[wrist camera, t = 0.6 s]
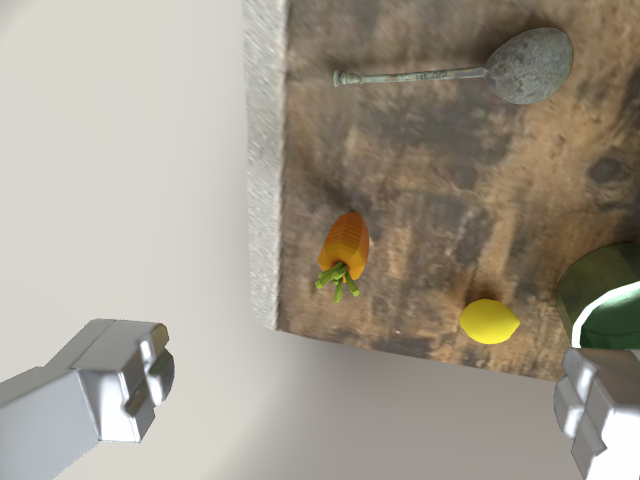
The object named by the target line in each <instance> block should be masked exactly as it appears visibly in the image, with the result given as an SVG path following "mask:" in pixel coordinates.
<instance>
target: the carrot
mask: <svg viewBox="0 0 640 480" xmlns="http://www.w3.org/2000/svg"><path fill="white" fill-rule="evenodd" d="M368 251H369V235H368V230H367V227H366V225H365V223H364V221H363V218H362V217H361V215H360V214H359V213H357V212H350V213H347V214H344V215H343V216H341V217H339V218H338V220H337V221H336V222H335V223H334V224H333V226H332V227H331V229H330V231H329V233H328V235H327V238H326V240H325V243H324V245H323V248H322V250H321V253H320V255H319V258H318V263H319V265H320V267H321V269H322V270H323V272H322V273H320V274H319V275H318V276H319V278H320V279H319V280H318V281H317V282H316V283H315V284H316V287H317V288H318V289H321V288H322V287H323V286H324V285H326V284H327V283H328V282H329V281H330V280H331V279H333V284H335V285H337V287H336V291H335V295H334V302H336V303H337V302H339V301H340V298H341V292H342V286H343V283H344V282H347V284H348V287H349V289H350V291H351V292H352V293H353V295H354V296H357V295H358V294H359V293H360V292H359V290H358V288H357V287H356V286H355V284H354V282H353V280H354V279H358V278H359V277H360V275H361V273H362V271H363V269H364V266H365V264H366V262H367V258H368Z"/></svg>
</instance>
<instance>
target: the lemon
mask: <svg viewBox="0 0 640 480" xmlns="http://www.w3.org/2000/svg"><path fill="white" fill-rule="evenodd" d="M459 322H460V324H461V326H462V328H463V329H464V331H465V332H466V333H467V335H468V336H469V337H471V338H472V339H474V340H476V341H478V342H481V343H483V344H495V343H500V342H503V341H505V340H507V339H508V338H509V337H510V336H511V335H512V333H513V332H514V331H515V329H516V328H517V327H518V326H519V324H520V320H519V319H518V318H517V317H516V316H515V314H514V313H513V312H512V311H511V310H510V309H509V308H508V307H507V306H505V305H504V304H503V303H501V302H499V301H495V300H490V299H481V300H477V301H474V302H472V303H470V304H469V305H468V306H467V307H466V308H465V309H464V310H463V312H462V313H461V315H460V317H459Z"/></svg>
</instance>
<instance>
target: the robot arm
mask: <svg viewBox="0 0 640 480" xmlns="http://www.w3.org/2000/svg"><path fill="white" fill-rule="evenodd" d="M168 341H169V336H168V332H167V328H166V326H165V325H163V324H161V323H153V322H141V321H128V320H113V319H94V320H91V321H90V322H89V323H88V324H87V325H86V326H85V327H84V328H83V329H82V330H81V331H79V333H77V334H76V336H75V337H73V338H72V339H71V340H70V341H69V342H68V343H67V345H65V346H64V347H63V348H62V349H61V350H60V351H59V352H58V353H57V354H56V355H55V356H54V357H53V358H52V359H51V360H50V361H49V362H48V363H47V364H46V365H45V366H44V367H34V368H32V369H30V370H28V371H26V372H23V373H21V374H19V375H17V376H15V377H12V378H10V379H8V380H6V381H4V382H1V383H0V480H52V479H53V478H54V477H56V476H57V475H58V474H60V473H61V472H62V471H63V470H65V469H66V468H67V467H69V466H70V465H71V464H73V463H74V462H75V461H76V460H78V459H79V458H80V457H82V456H83V455H84V454H86V453H87V452H88V451H89V450H91V449H92V448H93V447H95V446H96V445H97V444H99V441H110V442H111V441H112V442H127V443H140V442H141V440H142V438H143V437H144V435H145V434H146V432H147V430H148V428H149V427H150V425H151V423H152V422H153V420H154V418H155V414H154V410H153V408H154V407H155V406H157V405H159V404H160V403H162V402H163V401H165V399H166V398H167V396H168V394H169V392H170V390H171V387H172V383H173V379H174V360H173V356H172V355H171V354H170V353H169V352H168V351H167V350H166V349H165V348H164V347H165V345H166V344H167V342H168ZM561 364H562V366H563V368H564V370H565V372H566V375H565V376H563V377H562V378H561V379H559V380H558V381H557V382H556V387H555V392H554V411H555V414H556V419H557V422H558V424H559V427H560V429H561V431H562V432H563V433H564V434H565V435H566V436H568V437H569V438H570V439H571V440H573V441H574V443H573V446H572V450H571V453H572V456H573V458H574V460H575V462H576V464H577V467H578V469H579V471H580V473H581V475H582V477H583V480H640V350H638V349H625V350H615V349H596V348H578V347H568V349H567V350H566V351H565V353H564V356H563V360H562V363H561Z"/></svg>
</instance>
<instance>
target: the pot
mask: <svg viewBox="0 0 640 480" xmlns="http://www.w3.org/2000/svg"><path fill="white" fill-rule="evenodd" d="M556 308H557V310H558V313H559V315H560V318H561V320H562V323H563V325H564V328H565V330H566V333H567V335H568V338H569V340H570V343H571V345H572V347H578V348H596V349H615V350H625V349H638V350H640V243H621V244H615V245H610V246H607V247H603V248H600V249H598V250H595V251H593V252H591V253H589V254H587V255H585V256H584V257H582V258H581V259H579V260H578V261H576V262H575V263H574V264H573V265H572V266H571V267H570V268H569V269H568V270H567V271H566V272H565V274H564V275H563V276H562V278H561V280H560V282H559V284H558V287H557V290H556Z"/></svg>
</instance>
